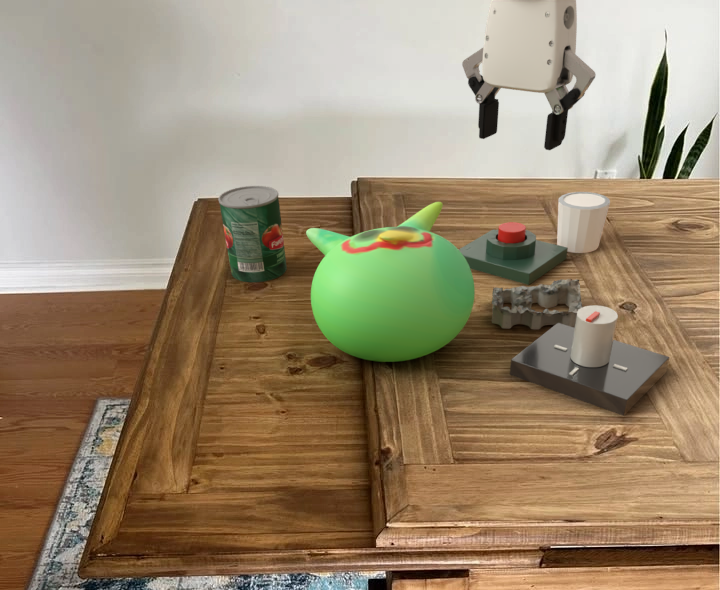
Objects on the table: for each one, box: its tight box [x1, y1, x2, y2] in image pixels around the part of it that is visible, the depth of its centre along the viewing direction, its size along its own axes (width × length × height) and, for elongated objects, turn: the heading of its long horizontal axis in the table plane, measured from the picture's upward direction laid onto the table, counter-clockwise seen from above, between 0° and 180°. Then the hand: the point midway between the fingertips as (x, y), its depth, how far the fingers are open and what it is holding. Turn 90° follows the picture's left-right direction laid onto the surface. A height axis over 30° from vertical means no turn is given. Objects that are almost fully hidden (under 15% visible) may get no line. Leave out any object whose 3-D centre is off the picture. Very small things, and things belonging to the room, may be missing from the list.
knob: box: [570, 304, 619, 367], centre depth 75 cm, size 4×4×5 cm
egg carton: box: [491, 278, 583, 330], centre depth 87 cm, size 11×8×4 cm
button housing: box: [457, 229, 568, 286], centre depth 100 cm, size 12×10×4 cm
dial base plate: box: [509, 323, 670, 417], centre depth 77 cm, size 13×10×3 cm
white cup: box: [556, 191, 611, 254], centre depth 102 cm, size 7×7×7 cm
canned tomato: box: [217, 185, 288, 283], centre depth 99 cm, size 8×8×11 cm
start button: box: [497, 221, 527, 243], centre depth 98 cm, size 4×4×2 cm
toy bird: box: [305, 201, 476, 363], centre depth 81 cm, size 18×17×15 cm
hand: (519, 141), depth 91 cm, fingers open, 8 cm apart
